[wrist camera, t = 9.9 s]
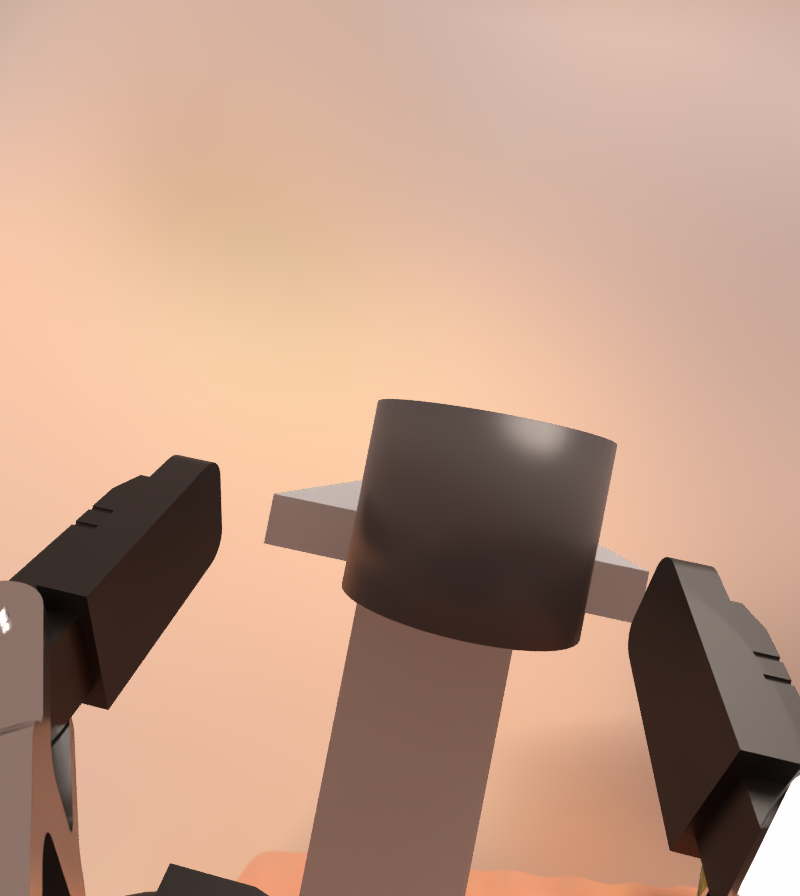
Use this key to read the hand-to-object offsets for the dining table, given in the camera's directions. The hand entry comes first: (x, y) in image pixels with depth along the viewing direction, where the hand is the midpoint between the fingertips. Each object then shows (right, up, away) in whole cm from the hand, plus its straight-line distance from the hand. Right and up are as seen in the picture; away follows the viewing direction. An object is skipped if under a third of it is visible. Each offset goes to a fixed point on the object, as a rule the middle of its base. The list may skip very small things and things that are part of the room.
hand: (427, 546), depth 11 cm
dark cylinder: (+1, -1, +9) cm, 9 cm away
